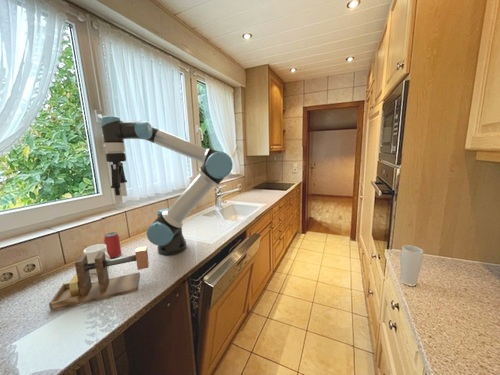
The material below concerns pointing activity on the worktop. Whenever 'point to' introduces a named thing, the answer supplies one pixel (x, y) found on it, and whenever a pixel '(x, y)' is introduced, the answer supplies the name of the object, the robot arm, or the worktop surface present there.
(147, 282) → the worktop surface
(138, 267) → the mallet
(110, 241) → the beer can
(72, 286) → the spacer
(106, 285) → the wooden stand
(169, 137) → the robot arm
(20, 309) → the worktop surface
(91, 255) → the mug
